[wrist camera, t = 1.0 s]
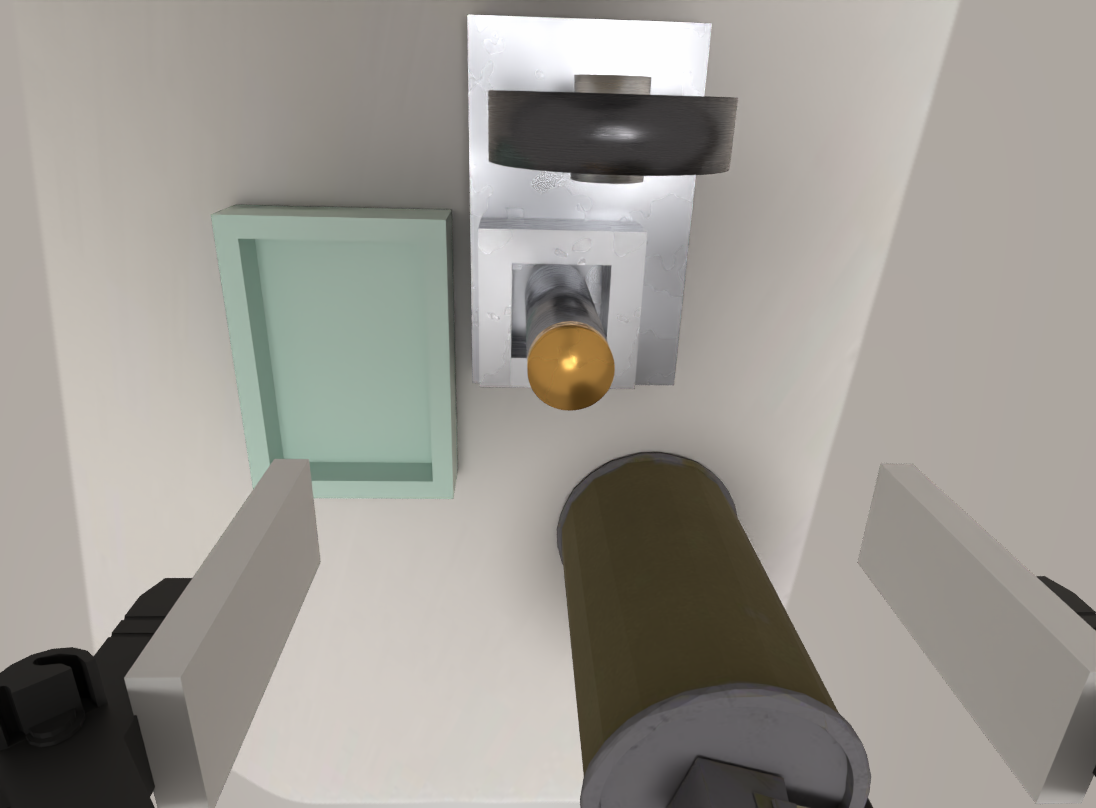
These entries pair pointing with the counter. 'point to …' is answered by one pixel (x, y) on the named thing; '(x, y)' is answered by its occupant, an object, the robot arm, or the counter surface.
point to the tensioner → (587, 178)
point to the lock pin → (565, 340)
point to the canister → (691, 654)
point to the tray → (344, 344)
